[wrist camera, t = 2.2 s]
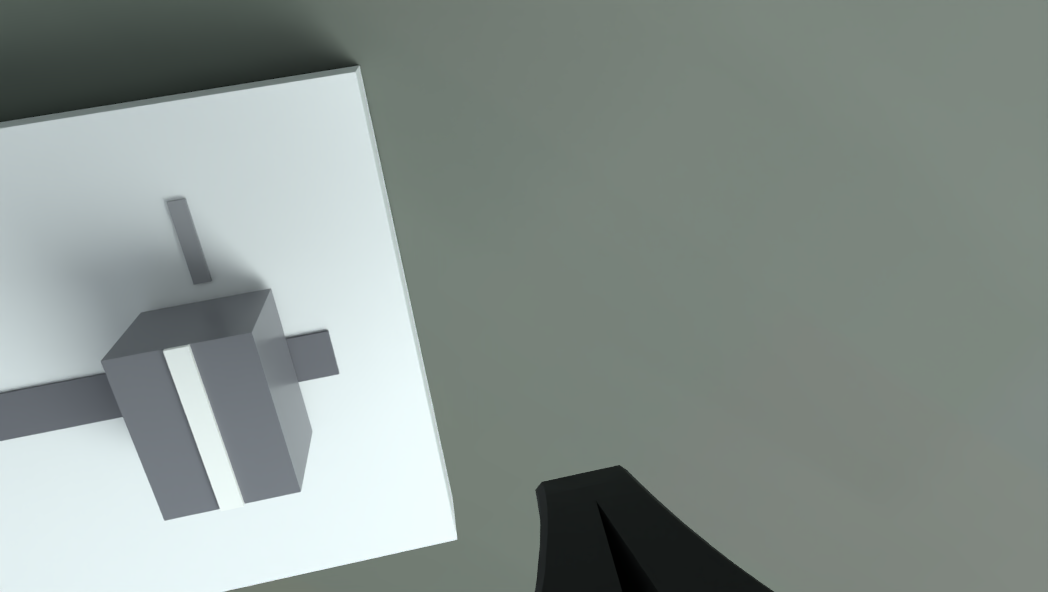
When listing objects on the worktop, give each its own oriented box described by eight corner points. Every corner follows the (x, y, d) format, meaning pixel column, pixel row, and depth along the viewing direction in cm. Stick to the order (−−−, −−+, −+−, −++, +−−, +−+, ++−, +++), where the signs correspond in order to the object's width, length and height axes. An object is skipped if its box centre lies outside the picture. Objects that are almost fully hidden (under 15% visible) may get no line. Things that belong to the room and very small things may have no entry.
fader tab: (312, 431, 19) (300, 494, 17) (193, 455, 19) (163, 523, 16) (271, 288, 18) (250, 334, 15) (140, 312, 17) (98, 363, 15)
